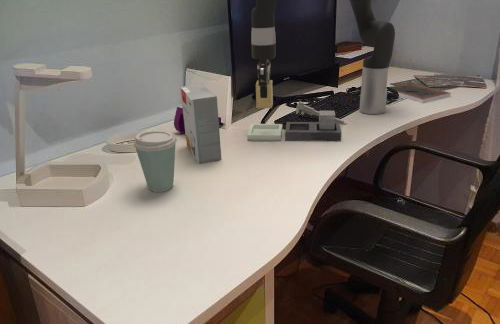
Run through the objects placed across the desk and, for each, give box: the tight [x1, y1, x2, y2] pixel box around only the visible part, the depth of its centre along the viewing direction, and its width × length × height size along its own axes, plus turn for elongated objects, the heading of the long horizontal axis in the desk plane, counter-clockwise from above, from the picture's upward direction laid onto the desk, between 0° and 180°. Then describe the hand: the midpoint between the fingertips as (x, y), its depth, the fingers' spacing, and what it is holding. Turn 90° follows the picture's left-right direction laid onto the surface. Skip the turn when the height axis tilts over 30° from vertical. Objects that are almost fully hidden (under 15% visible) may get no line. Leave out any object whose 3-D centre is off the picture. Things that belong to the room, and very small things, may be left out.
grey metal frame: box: [284, 121, 342, 142], centre depth 139 cm, size 18×10×3 cm, turn 83°
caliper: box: [295, 100, 348, 126], centre depth 153 cm, size 20×1×6 cm, turn 55°
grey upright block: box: [318, 110, 336, 131], centre depth 138 cm, size 5×5×8 cm
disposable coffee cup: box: [133, 129, 177, 193], centre depth 107 cm, size 11×11×15 cm
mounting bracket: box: [173, 106, 222, 134], centre depth 149 cm, size 10×8×18 cm
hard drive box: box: [179, 83, 222, 165], centre depth 126 cm, size 16×8×20 cm, turn 21°
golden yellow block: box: [255, 79, 274, 109], centre depth 136 cm, size 5×5×8 cm
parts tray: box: [246, 123, 283, 142], centre depth 142 cm, size 11×11×2 cm
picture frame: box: [388, 82, 452, 104], centre depth 180 cm, size 16×2×22 cm
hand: (264, 95), depth 136 cm, fingers closed on golden yellow block, 5 cm apart
